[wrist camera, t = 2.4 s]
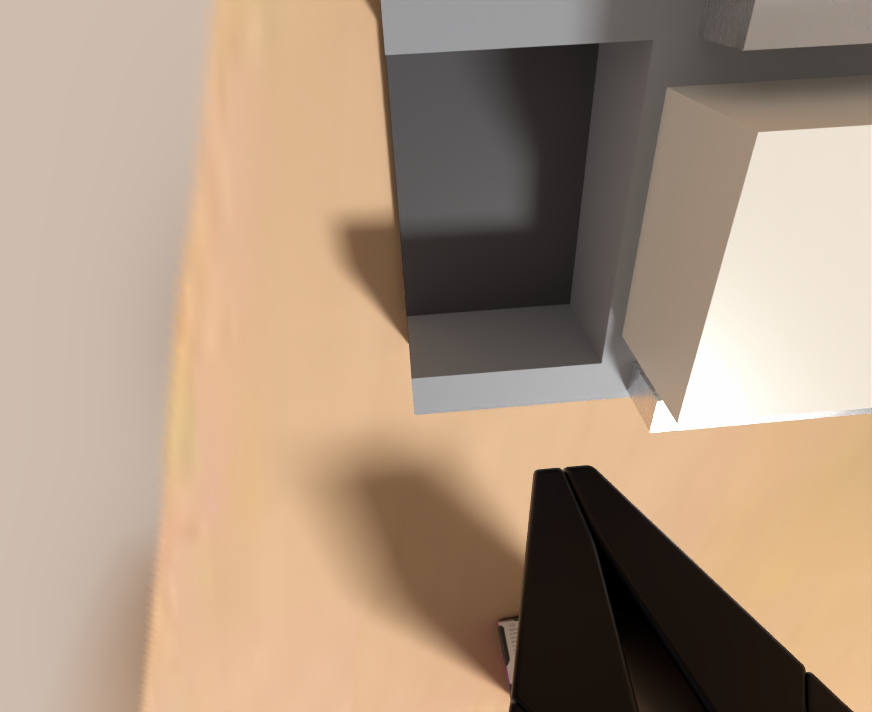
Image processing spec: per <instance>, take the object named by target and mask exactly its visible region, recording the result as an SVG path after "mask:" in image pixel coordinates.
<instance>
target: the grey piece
mask: <svg viewBox="0 0 872 712" xmlns="http://www.w3.org/2000/svg"><path fill="white" fill-rule="evenodd" d="M704 1H705V0H381V11H382V24H383V36H384V48H385V55H386V64H387V76H388V88H389V101H390V113H391V125H392V137H393V150H394V162H395V174H396V187H397V199H398V211H399V223H400V236H401V248H402V260H403V273H404V285H405V297H406V309H407V322H408V336H409V349H410V363H411V377H412V389H413V401H414V414H415V415H419V414H432V413H444V412H456V411H468V410H480V409H492V408H504V407H516V406H528V405H540V404H552V403H564V402H576V401H588V400H600V399H612V398H624V397H630V395H629V393H628V392H627V387H628V382H629V377H630V372H631V367H632V362H633V361H637V359H636V358H635V356H634V354H633V353H632V351H631V350H630V348H629V346H628V345H627V343H626V342H625V340H624V338H623V337H622V333H623V327H624V322H625V316H626V310H627V305H628V299H629V294H630V288H631V283H632V277H633V272H634V266H635V261H636V255H637V249H638V244H639V238H640V233H641V227H642V222H643V216H644V211H645V205H646V199H647V194H648V188H649V183H650V177H651V172H652V166H653V161H654V155H655V150H656V144H657V138H658V133H659V127H660V122H661V116H662V111H663V105H664V100H665V94H666V89H667V87H677V86H694V85H710V84H727V83H743V82H760V81H776V80H793V79H809V78H826V77H842V76H859V75H872V43H866V44H849V45H832V46H814V47H797V48H780V49H763V50H746V51H743V50H739V49H736V48H732V47H729V46H725V45H722V44H718V43H715V42H712V41H708V40H705V39H701V38H698V32H699V27H700V21H701V16H702V11H703V6H704Z"/></svg>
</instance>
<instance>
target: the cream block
mask: <svg viewBox="0 0 872 712" xmlns="http://www.w3.org/2000/svg"><path fill="white" fill-rule="evenodd" d="M622 337H623V338H624V340H625V342H626V343H627V345H628V346H629V348H630V350H631V351H632V353H633V354H634V356H635V358H636V359H637V361H638V363H639V364H640V366H641V367H642V369H643V371H644V372H645V374H646V375H647V377H648V379H649V380H650V382H651V383H652V385H653V387H654V388H655V390H656V392H657V393H658V395H659V396H660V398H661V400H662V401H663V403H664V404H665V406H666V408H667V409H668V411H669V412H670V414H671V416H672V417H673V419H674V421H675V422H676V424H689V423H701V422H712V421H724V420H736V419H747V418H759V417H771V416H783V415H794V414H806V413H818V412H829V411H841V410H853V409H865V408H872V75H859V76H842V77H826V78H809V79H793V80H776V81H760V82H743V83H727V84H710V85H694V86H677V87H667V89H666V94H665V100H664V105H663V111H662V116H661V122H660V127H659V133H658V138H657V144H656V150H655V155H654V161H653V166H652V172H651V177H650V183H649V188H648V194H647V199H646V205H645V211H644V216H643V222H642V227H641V233H640V238H639V244H638V249H637V255H636V261H635V266H634V272H633V277H632V283H631V288H630V294H629V299H628V305H627V310H626V316H625V322H624V327H623V333H622Z"/></svg>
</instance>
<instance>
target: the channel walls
mask: <svg viewBox="0 0 872 712" xmlns="http://www.w3.org/2000/svg"><path fill="white" fill-rule="evenodd" d="M698 38H701V39H705V40H708V41H712V42H715V43H718V44H722V45H725V46H729V47H732V48H736V49H739V50H743V51H746V50H763V49H780V48H797V47H814V46H832V45H849V44H866V43H872V0H705V1H704V6H703V11H702V16H701V21H700V27H699V32H698ZM627 392H628V393H629V395H630V397H631V399H632V401H633V402H634V404H635V406H636V408H637V410H638V411H639V413H640V415H641V417H642V419H643V420H644V422H645V424H646V426H647V428H648V429H649V431H650V432H660V431H671V430H683V429H695V428H706V427H718V426H730V425H741V424H753V423H764V422H776V421H788V420H799V419H811V418H823V417H834V416H846V415H858V414H869V413H872V408H865V409H853V410H841V411H829V412H818V413H806V414H794V415H783V416H771V417H759V418H747V419H736V420H724V421H712V422H701V423H689V424H676V422H675V421H674V419H673V417H672V416H671V414H670V412H669V411H668V409H667V408H666V406H665V404H664V403H663V401H662V400H661V398H660V396H659V395H658V393H657V392H656V390H655V388H654V387H653V385H652V383H651V382H650V380H649V379H648V377H647V375H646V374H645V372H644V371H643V369H642V367H641V366H640V364H639V363H638V361H633V362H632V367H631V372H630V377H629V382H628V387H627Z"/></svg>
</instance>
